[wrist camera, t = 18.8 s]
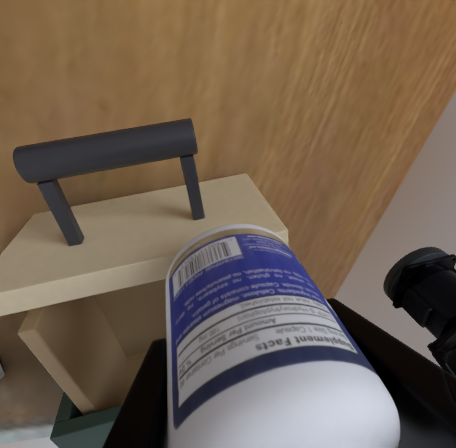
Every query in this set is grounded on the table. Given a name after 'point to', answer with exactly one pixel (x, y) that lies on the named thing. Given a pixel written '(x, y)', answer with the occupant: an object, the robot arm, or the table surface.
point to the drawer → (110, 255)
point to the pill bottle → (263, 353)
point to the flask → (1, 372)
